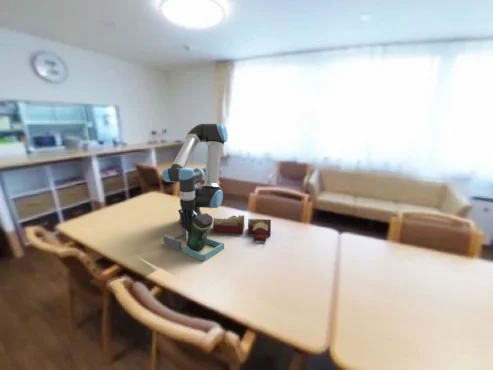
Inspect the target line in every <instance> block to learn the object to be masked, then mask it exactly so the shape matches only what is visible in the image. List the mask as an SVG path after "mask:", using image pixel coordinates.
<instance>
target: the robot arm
mask: <svg viewBox="0 0 493 370" xmlns="http://www.w3.org/2000/svg"><path fill="white" fill-rule="evenodd" d="M228 140H229V138H228V130H227V127H226V126H225V124H223V123H218V122H217V123H200V124H197V125H196V126H194V127H192V128H191V129H190V130H189V131H188V133H186V135H185V141H184V143H183V145H182V146H181V148H180V150H179V152H178V154H177V155H176V157H175V159H174V160H173V162H172V164H171V166H170V167H166V168H164V169H163V170H162V175H161V176H162V179H163V181H165V182H167V183H178V185H179V186H178V187H179V205H180V209H178V214H179V224H180V225H181V227H183V228H185V230H186V235H185V238H186V242H187V241H188V238H189V235H190V233H191V230H192V227H193V221H194V218H195V217H196V216H198V215H200V214H202V211H201V208H206V209H219V207H220V206H221V204H222V202H223V198H224V192H223V190H222V189H221V185H219V181H220V180H219V179H220V168H221V167H220V165H221V154H222V152H221V151H222V148H223V147H224V145H225V143H227V142H228ZM201 143H205V145H206V146H207V150H206V151H207V152H206V163H205V171H204V170H203V169H202V168H200V167H198V168H193V167H187V166H188V164H189V163H190V160H191V158H192V157H193V154H194V152H196V149H197V147H198V146H200V144H201ZM203 180H204V183H203V184H202V185H201V188H200V187H199V186H198V185H196V184H198V183H201V182H202V181H203Z"/></svg>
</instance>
